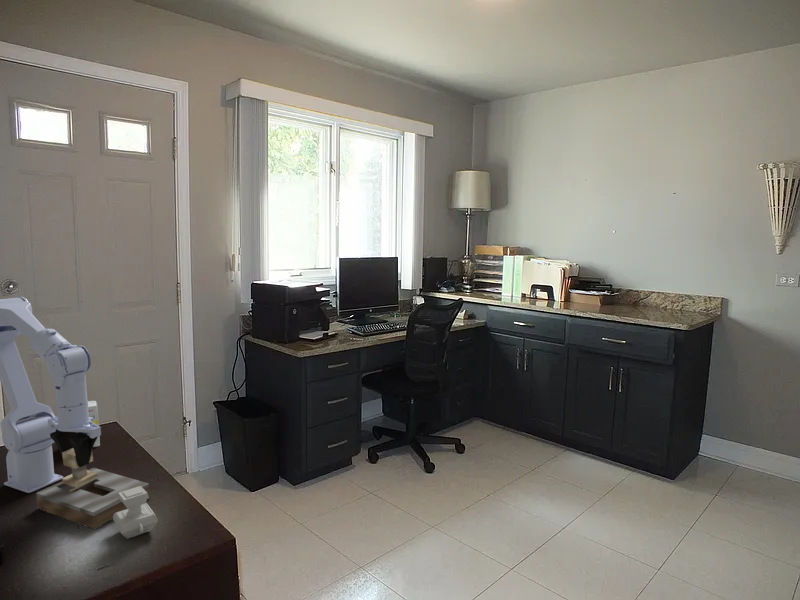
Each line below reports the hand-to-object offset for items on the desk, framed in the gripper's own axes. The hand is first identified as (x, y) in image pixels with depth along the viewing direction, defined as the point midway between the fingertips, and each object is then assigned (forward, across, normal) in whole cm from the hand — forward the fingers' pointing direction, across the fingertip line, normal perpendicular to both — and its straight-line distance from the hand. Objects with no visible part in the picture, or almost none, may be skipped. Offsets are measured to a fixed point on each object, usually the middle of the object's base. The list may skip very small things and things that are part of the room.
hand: (76, 463), depth 113 cm
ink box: (+8, +26, -18) cm, 33 cm away
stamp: (+9, -22, +4) cm, 24 cm away
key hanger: (+4, 0, 0) cm, 4 cm away
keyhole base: (+8, -5, 0) cm, 10 cm away
